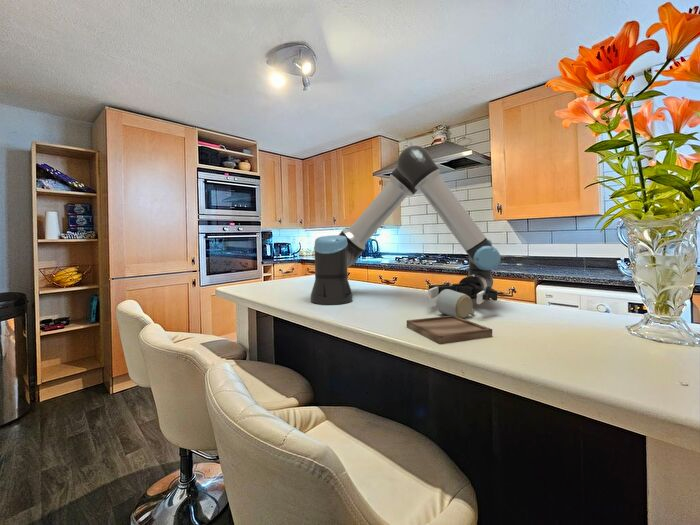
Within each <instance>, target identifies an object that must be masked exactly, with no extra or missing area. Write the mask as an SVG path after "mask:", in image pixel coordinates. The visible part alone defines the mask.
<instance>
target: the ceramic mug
mask: <svg viewBox="0 0 700 525" xmlns="http://www.w3.org/2000/svg"><path fill="white" fill-rule="evenodd" d="M435 302H436V308H437V311H438V312H439V313H441V314H442V315H445V316H451V315H453V316H456V317H459V318H462V319H466V318H468V317H469V316H470V315H474V314H475V310H476V309H474V308H473V306H474V303H473V299H471V298H470V297H469V296H468V295H466V294H463V293H459V292H456V291H453V290H449V289H445V290H443V291H441V292H440V294H439V295H438V296H437V297H436V301H435Z"/></svg>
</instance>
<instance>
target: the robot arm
mask: <svg viewBox="0 0 700 525" xmlns="http://www.w3.org/2000/svg"><path fill="white" fill-rule="evenodd" d="M440 172H441V170H440V168H439V167H438V166H437V164H436V163H435V161H434V159H433V157H432V156H431V154H430V153H429V151H428V150H427V149H426V148H424V147H422V146H420V145H411V146H407V147H406V148H405V149H403V150H402V151H401V152H400V154H399V155H398V157H397V161H396V167H395V168H394V169H393V171H392V172H391V173H390V175H389V181H388V183H387V184H386V185H385V186H384V187H383V189H382V190H381V191H380V192H379V193H378V194H377V196H376V197H374V199H373V200H372V201H371V203H369V205H368V206H367V207H366V208H365V209H364V211H363V212H362V213H361V214H360V216H358V218H356V220H355V221H354V222H353V224H352V225H351V226H350V227H349V228H346V229H344V228H343V229H342V230H341V231H340V233H339V234H338V235H337V234H336V235H326V236H318V237H316V238H315V240H314V248H313V249H314V275H315V276H314V277H315V278H314V282H313V286H312V290H311V293H310V302H312V303H313V304H317V305H344V304H348V303H350V302H353V300H354V299H353V296H354V295H353V292H352V288H351V285H350V283H349V280H348V268H350V267H351V266H353V265H355V264H356V263H357V262H358V259H359V257H360V256H361V255H362V254H363V252H364V251H365V250H366V243H367V242H368V241H369V240H370V238H372V236H373V235H374V234H375V233H376V232H377V231H378V229H379V228H380V227H381V226H382V225H383V224H384V223H385V222H386V221H387V219H388V218H389V217H390V216H391V215H392V214H393V213H394V211H395V210H396V209H397V208H398V207H399V206H400V205H401V203H403V201H404V200H406V198H407V197H411V196H414V195H415V194H416V193H417V192H418V190H419V191H420V192H421V194H422V195H423V197H424V198H425V199H426V200H427V202H428V203H429V204H430V205H431V207H432V208H433V209H434V211H435V212H436V213H437V215H438V217H440V219H441V220H442V221H443V223H444V224H445V226H446V227H447V228H448V230H449V231H450V232H451V234H452V235H453V236H454V238H455V240H457V242H458V243H459V244H460V246H461V247H462V248H463V250H464V251H465V252H466V254H467V255H468V276H466V277H465V276H464V277H463V278H462V279H461V280H460V281H459V283H450V282H448V283H444V284H435V285H428V290H427V291H428V292H427V299H429V300H432V299H435V298H437V297H438V295H439V294H440V292H441V291H443V290H445V289H449V290H453V291H456V292H459V293H463V294H466V295H468V296H469V297H470V298H471V299H472V300H475V299H476V304H477V305H481V304H482V303H484V302H485V301H490V300H492V301H494V302H495V301H498V291H497V290H495V289H493V288H492V287H493V286H494V279H493V276H492V270H494V269H496V268H497V267H498V266H499V265H500V263H501V258H502V257H501V254H500V252H499V251H498V249H497V248H496V247H494V246H493V243H492V240H491V239H488V238H487V237H486V235H485V234H484V233H483V232H482V230H481V229H480V227H479V226H478V225H477V223H476V222H475V221H474V220H473V218H472V217H471V216H470V214H469V213H468V211H467V210H466V208H465V207H464V206H463V205H462V203H461V202H460V200H459V199H458V197H456V196H455V194H454V193H453V191H452V190H451V188H450V187H449V186H448V185H447V183H446V181H445V180H444V179H443V178H442V177H441V174H440Z"/></svg>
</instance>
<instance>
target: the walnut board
mask: <svg viewBox="0 0 700 525" xmlns="http://www.w3.org/2000/svg"><path fill="white" fill-rule="evenodd" d="M406 328H408V329H410V330H412V331H414V333H415V332H416V333H418V335H421V336H423V337H425V338H427V339H429V340H431V341H432V342H435V343H437V344H439V345H442V344H451V343H456V342H457V343H458V342H463V341H471V340H479V339H483V338H485V339H486V338H492V337H493V329H492V328H490V327H487V326H485V325H483V324H482V325H481V324H478V323H476V322H473V321H471V320H467V319H466V318H459V317H456V316H453V315H451V316H449V315H445V316H443V315H442V316H435V317H425V318H417V319H407V320H406Z"/></svg>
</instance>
